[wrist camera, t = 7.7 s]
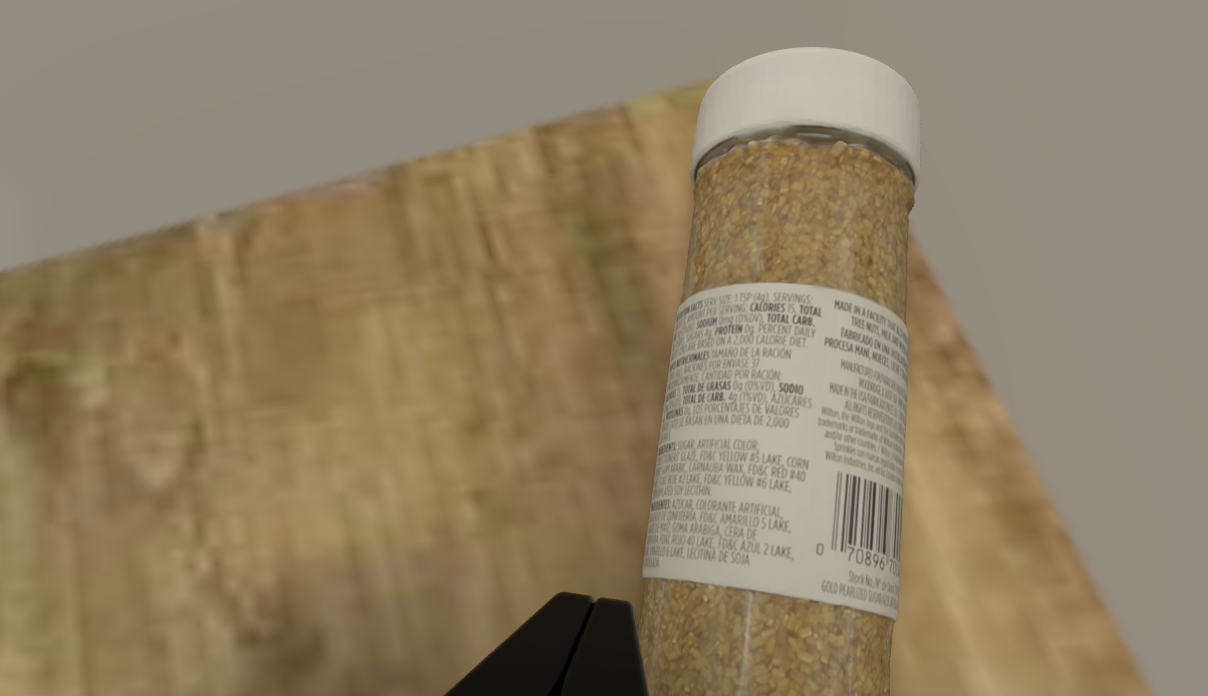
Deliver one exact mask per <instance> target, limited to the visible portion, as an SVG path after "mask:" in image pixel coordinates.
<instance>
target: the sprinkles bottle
mask: <svg viewBox="0 0 1208 696" xmlns="http://www.w3.org/2000/svg"><path fill="white" fill-rule="evenodd" d="M920 125H921V122H920V107H919V103H918V100H917V98H916V96H915V93H914V91H913V90H912V88H911V87H910V85H909V84H908V83H907V82H906V81H905V80H904V78H903V77H901V76H900V75H899V74H898V73H896V72H895V71H894V70H893V69H891V68H890V67H888V66H887V65H885V64H883V63H881V62H879V61H877V60H875V59H872V58H870V57H867V56H864V55H861V54H858V53H854V52H850V51H846V50H839V49H832V48H822V47H800V48H791V49H785V50H778V51H772V52H769V53H765V54H762V55H759V56H756V57H753V58H750V59H748V60H746V61H744V62H742V63H740V64H738V65H736V66H734V67H732V68H731V69H729V70H728V71H727V72H725V73H724V74H722V75H721V76H720V77H719V78H718V79H717V80H716V81H715V82H714V83H713V84H712V85H711V86H710V88H709V89H708V91H707V93H706V94H705V96H704V98H703V100H702V103H701V106H700V110H699V115H698V120H697V126H696V132H695V138H694V145H693V152H692V160H691V169H690V176H691V181H692V184H693V188H694V191H693V192H694V196H695V197H694V201H695V206H694V214H693V223H692V228H691V238H690V243H689V251H688V259H687V266H686V274H685V281H684V292H683V296H682V298H681V303H680V307H679V309H678V312H677V315H676V322H675V329H674V336H673V343H672V351H671V358H670V366H669V374H668V382H667V389H666V395H665V402H664V408H663V416H662V423H661V431H660V439H659V446H658V454H657V462H656V470H655V477H654V485H653V493H652V501H651V509H650V516H649V524H648V532H647V539H646V547H645V555H644V562H643V570H642V578H643V581H644V594H643V604H642V610H641V618H640V623H639V628H638V634H639V640H640V646H641V651H642V657H643V663H644V668H645V674H646V680H647V685H648V691H649V696H890V685H889V678H890V655H891V645H892V633H893V625H894V623H895V621H896V620H897V615H898V599H899V574H900V547H901V523H902V499H903V476H904V453H905V427H906V403H907V377H908V335H909V333H908V331H907V328H906V293H907V284H906V280H907V258H906V255H907V249H908V215H909V213H910V211H911V210H912V207H913V206H914V194H915V192H916V190H917V188H918V184H919V181H920V156H921V145H920V144H921V139H920V138H921V126H920Z"/></svg>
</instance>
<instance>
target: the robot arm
mask: <svg viewBox="0 0 1208 696" xmlns="http://www.w3.org/2000/svg"><path fill="white" fill-rule="evenodd" d="M444 696H649V691H648V685H647V680H646V674H645V668H644V663H643V657H642V651H641V646H640V640H639V634H638V628H637V623H636V617H635V611H634V607H633V605H632V603H630V602H628V601H623V600H616V599H609V598H599V599H597V600H596V601H595V599H594V598H593V597H592V596H589V595H583V594H576V593H569V592H560V593H558V594H556V595H555V596H554V597H553V598H552V599H551V600H549V601H548V602H547V603H546V604H545V605H544V606H543V607H542V608H541V609H539V610H538V611H537V612H536V613H535V614H534V615H533V616H532V617H530V618H529V619H528V620H527V621H526V622H525V623H524V624H523V625H522V626H520V627H519V628H518V629H517V630H516V631H515V632H514V633H513V634H512V635H510V636H509V637H508V638H507V639H506V640H505V641H504V642H503V643H502V644H500V645H499V646H498V647H497V648H496V649H495V650H494V651H493V652H492V653H490V654H489V655H488V656H487V657H486V658H485V659H484V660H483V661H482V662H480V663H479V664H478V665H477V666H476V667H475V668H474V669H473V670H472V671H470V672H469V673H468V674H467V675H466V676H465V677H464V678H463V679H461V680H460V681H459V682H458V683H457V684H456V685H455V686H454V687H453V688H451V689H450V690H449V691H448V692H447V693H446V694H445V695H444Z"/></svg>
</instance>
